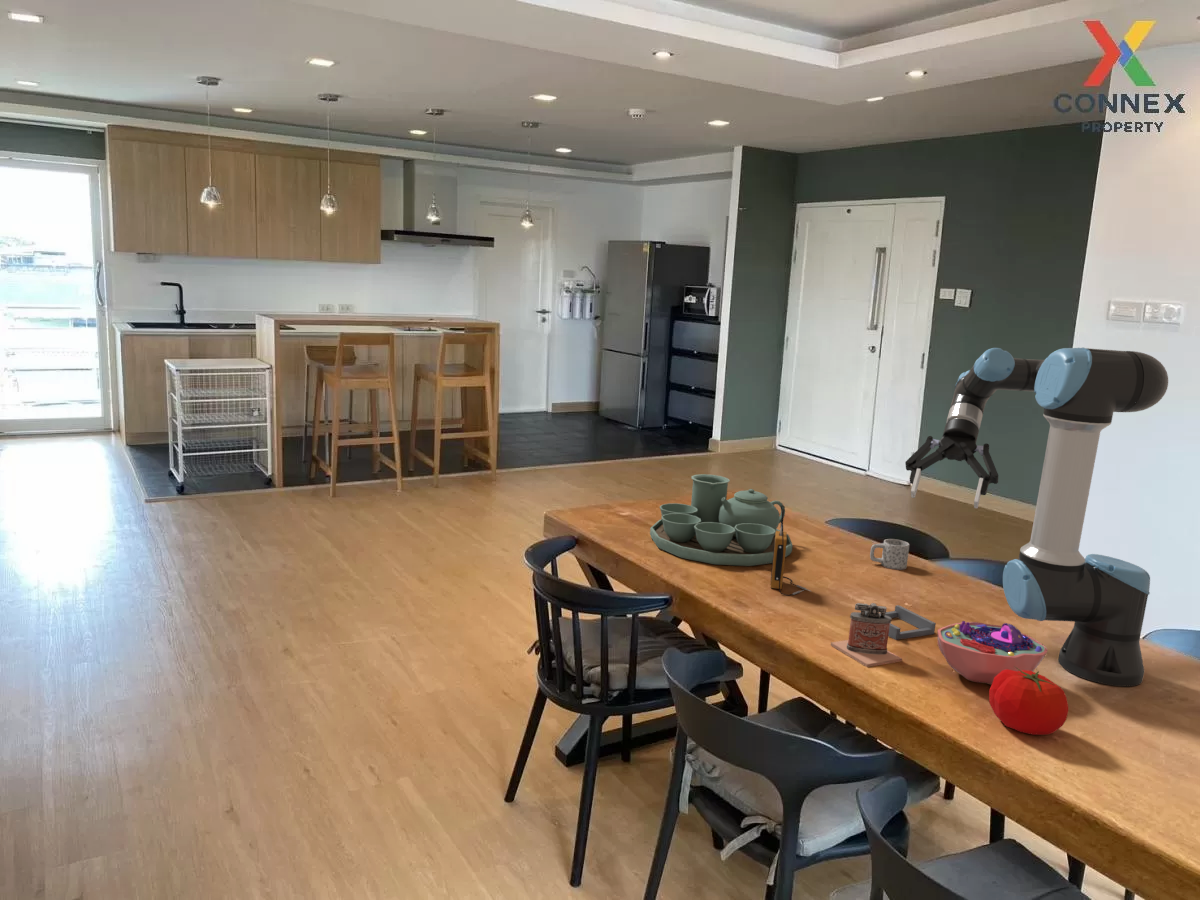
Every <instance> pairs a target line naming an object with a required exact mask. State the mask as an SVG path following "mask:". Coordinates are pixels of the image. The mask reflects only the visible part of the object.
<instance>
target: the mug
mask: <svg viewBox="0 0 1200 900" xmlns="http://www.w3.org/2000/svg"><path fill="white" fill-rule="evenodd" d="M877 548H879V549H882V555H881V557H875V550H876V549H877ZM909 551H910V543H909V542H908V541H905V540H901V539H895V538H887V539H884V540H883V542H882V543H875V544H872V546H871V547H870V553H869V557H870V560H871V561H873V562H875V563H880V564H881V566H882V567H884V568H886V569H889V570H890V569H891V570H898V571H899V570H900V571H901V570H902V571H903V570H906V569H907V567H908V566H907V565H908V559H909Z"/></svg>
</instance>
